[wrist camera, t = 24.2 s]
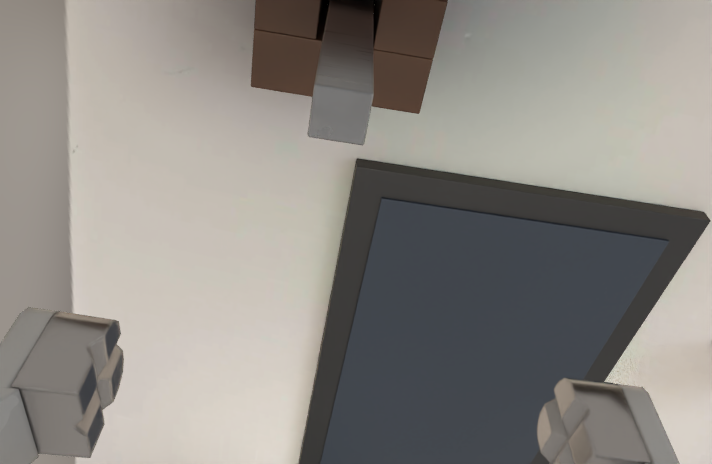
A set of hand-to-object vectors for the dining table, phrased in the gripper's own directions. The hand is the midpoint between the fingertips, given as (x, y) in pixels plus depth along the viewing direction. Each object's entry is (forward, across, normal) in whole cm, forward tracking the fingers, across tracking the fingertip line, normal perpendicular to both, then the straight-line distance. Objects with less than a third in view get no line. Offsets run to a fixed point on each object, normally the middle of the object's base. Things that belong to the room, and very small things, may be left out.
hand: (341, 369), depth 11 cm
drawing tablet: (+26, -14, +31) cm, 43 cm away
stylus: (+26, 0, +1) cm, 26 cm away
